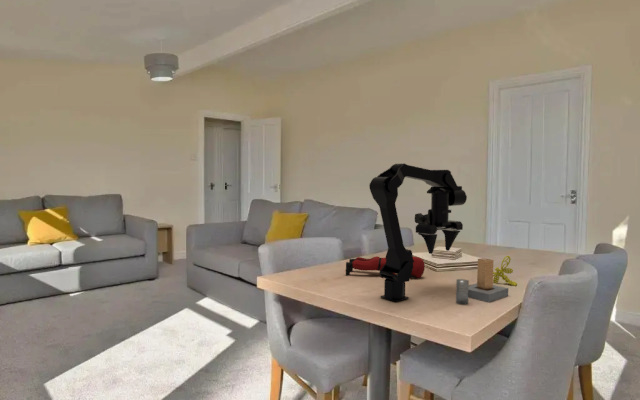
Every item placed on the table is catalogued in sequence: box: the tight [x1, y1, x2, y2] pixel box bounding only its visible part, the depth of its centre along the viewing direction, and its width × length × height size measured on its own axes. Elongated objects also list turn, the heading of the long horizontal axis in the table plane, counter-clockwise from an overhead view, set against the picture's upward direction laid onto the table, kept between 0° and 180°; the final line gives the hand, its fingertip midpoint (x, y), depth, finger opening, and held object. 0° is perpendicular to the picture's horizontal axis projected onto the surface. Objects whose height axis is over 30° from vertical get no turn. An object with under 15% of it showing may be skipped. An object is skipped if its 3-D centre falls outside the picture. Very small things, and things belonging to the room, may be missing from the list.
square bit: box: [476, 257, 494, 291], centre depth 142 cm, size 3×3×12 cm
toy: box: [345, 256, 426, 279], centre depth 170 cm, size 28×8×30 cm
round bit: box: [455, 278, 470, 306], centre depth 134 cm, size 4×4×7 cm
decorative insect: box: [493, 255, 518, 287], centre depth 158 cm, size 13×3×10 cm
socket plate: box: [468, 282, 509, 303], centre depth 142 cm, size 12×10×2 cm
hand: (439, 252), depth 148 cm, fingers open, 9 cm apart
